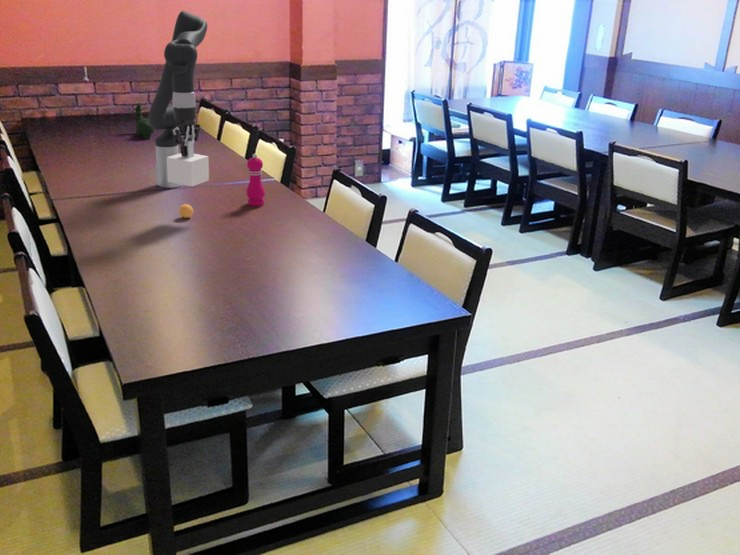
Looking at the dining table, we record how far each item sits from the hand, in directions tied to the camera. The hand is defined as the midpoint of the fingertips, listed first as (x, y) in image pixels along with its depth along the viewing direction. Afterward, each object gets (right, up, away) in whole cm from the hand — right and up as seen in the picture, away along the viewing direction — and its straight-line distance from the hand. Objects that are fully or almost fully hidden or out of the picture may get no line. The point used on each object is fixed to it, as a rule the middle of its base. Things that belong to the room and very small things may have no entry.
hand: (187, 155), depth 240 cm
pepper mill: (+19, -14, +30) cm, 38 cm away
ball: (-3, -19, +9) cm, 21 cm away
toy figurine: (-63, +36, +144) cm, 162 cm away
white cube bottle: (-1, -9, +4) cm, 9 cm away
